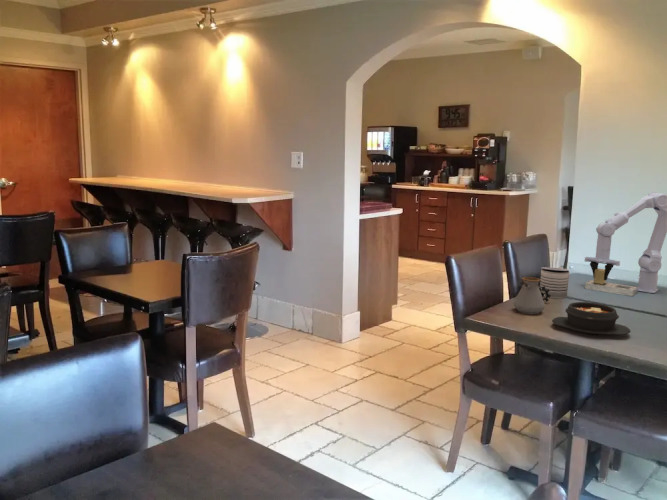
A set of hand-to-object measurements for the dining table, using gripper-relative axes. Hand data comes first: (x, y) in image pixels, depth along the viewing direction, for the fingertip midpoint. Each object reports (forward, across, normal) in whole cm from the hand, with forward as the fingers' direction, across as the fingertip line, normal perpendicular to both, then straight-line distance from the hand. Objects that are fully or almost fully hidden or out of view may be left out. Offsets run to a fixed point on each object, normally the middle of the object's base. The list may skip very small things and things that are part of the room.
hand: (600, 279), depth 272 cm
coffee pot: (+5, -8, -67) cm, 67 cm away
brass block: (+2, 0, 0) cm, 2 cm away
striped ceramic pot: (+5, -11, -28) cm, 30 cm away
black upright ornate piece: (+5, -11, -49) cm, 50 cm away
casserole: (+5, +17, -71) cm, 73 cm away
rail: (+4, +5, 0) cm, 7 cm away
